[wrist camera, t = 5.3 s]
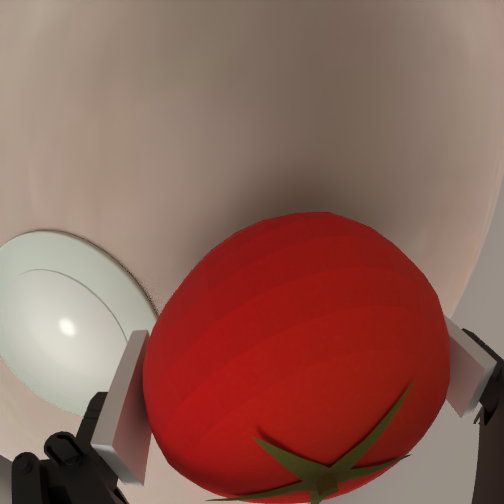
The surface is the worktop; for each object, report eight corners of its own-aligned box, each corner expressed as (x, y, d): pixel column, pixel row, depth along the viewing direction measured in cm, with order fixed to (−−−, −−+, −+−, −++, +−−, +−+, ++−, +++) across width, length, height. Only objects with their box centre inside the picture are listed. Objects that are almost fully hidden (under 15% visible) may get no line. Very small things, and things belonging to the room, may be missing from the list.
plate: (-33, 248, 19) (-41, 251, 18) (135, 210, 20) (130, 213, 19) (35, 405, 25) (31, 412, 24) (188, 411, 27) (187, 420, 25)
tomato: (136, 348, 16) (88, 510, 6) (241, 151, 13) (304, 145, 3) (293, 407, 19) (332, 540, 9) (408, 263, 16) (540, 364, 6)
